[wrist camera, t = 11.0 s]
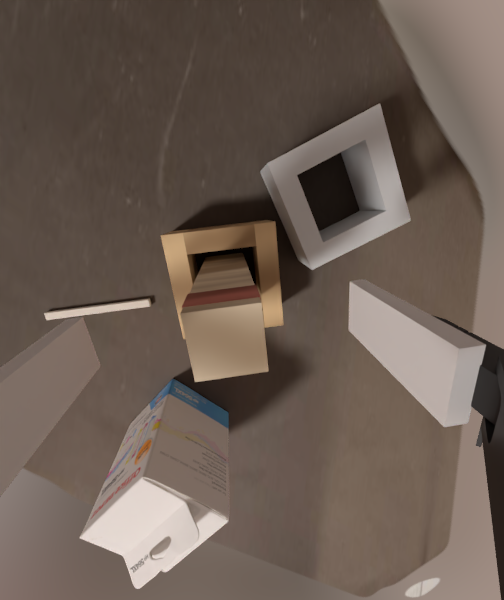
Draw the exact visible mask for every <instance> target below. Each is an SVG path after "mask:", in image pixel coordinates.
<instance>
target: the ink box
mask: <svg viewBox="0 0 504 600" xmlns="http://www.w3.org/2000/svg"><path fill="white" fill-rule="evenodd" d="M228 521H229V414H228V412H227V411H225V410H224V409H222V408H221V407H219V406H217V405H216V404H214V403H212V402H211V401H209V400H207V399H206V398H204V397H203V396H201V395H199V394H198V393H196V392H195V391H193V390H192V389H190V388H189V387H187V386H185V385H183V384H182V383H180V382H178V381H177V380H175V379H172V380H171V381H170V382H169V383H168V384H167V385H166V386H165V387H164V389H163V390H162V391H161V392H160V393H159V394H158V395H157V396H156V397H155V398H154V399H153V400H152V401H151V402H150V403H149V405H148V406H147V407H146V408H145V409H144V410H143V411H142V412H141V413H140V414H139V415H138V416H137V417H136V418H135V420H134V421H133V422H132V423H131V424H130V426H129V428H128V431H127V433H126V435H125V437H124V440H123V442H122V444H121V446H120V449H119V451H118V454H117V456H116V458H115V460H114V462H113V465H112V467H111V469H110V471H109V474H108V476H107V478H106V480H105V483H104V485H103V487H102V489H101V492H100V494H99V496H98V498H97V501H96V503H95V505H94V507H93V510H92V512H91V514H90V517H89V519H88V521H87V523H86V525H85V528H84V530H83V532H82V534H81V536H80V539H83V540H86V541H88V542H91V543H93V544H95V545H98V546H100V547H103V548H105V549H108V550H110V551H113V552H115V553H117V554H120V555H122V556H123V557H124V559H125V562H126V564H127V567H128V570H129V573H130V576H131V580H132V583H133V585H134V586H135V588H137V589H139V588H141V587H142V586H143V585H145V584H146V583H147V582H148V581H150V580H151V579H152V578H153V577H155V576H156V575H157V574H158V573H159V572H160V571H163V572H167V571H168V570H170V569H171V568H172V567H174V566H175V565H176V564H177V563H178V562H180V561H181V560H182V559H183V558H185V557H186V556H187V555H188V554H189V553H191V552H192V551H193V550H194V549H195V548H197V547H198V546H199V545H200V544H201V543H203V542H204V541H205V540H206V539H208V538H209V537H210V536H211V535H212V534H214V533H215V532H216V531H217V530H219V529H220V528H221V527H222V526H223V525H225V524H226V523H227V522H228Z"/></svg>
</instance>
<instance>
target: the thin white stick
mask: <svg viewBox="0 0 504 600" xmlns="http://www.w3.org/2000/svg"><path fill="white" fill-rule="evenodd" d="M149 306H151V301H150V298H147V299H140V300H132V301H124V302H117V303H109V304H102V305H94V306H86V307H79V308H71V309H64V310H56V311H48V312H46V313H44V315H45V317H46V320H51V319H59V318H66V317H74V316H81V315H89V314H96V313H104V312H111V311H119V310H126V309H134V308H142V307H149Z"/></svg>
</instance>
